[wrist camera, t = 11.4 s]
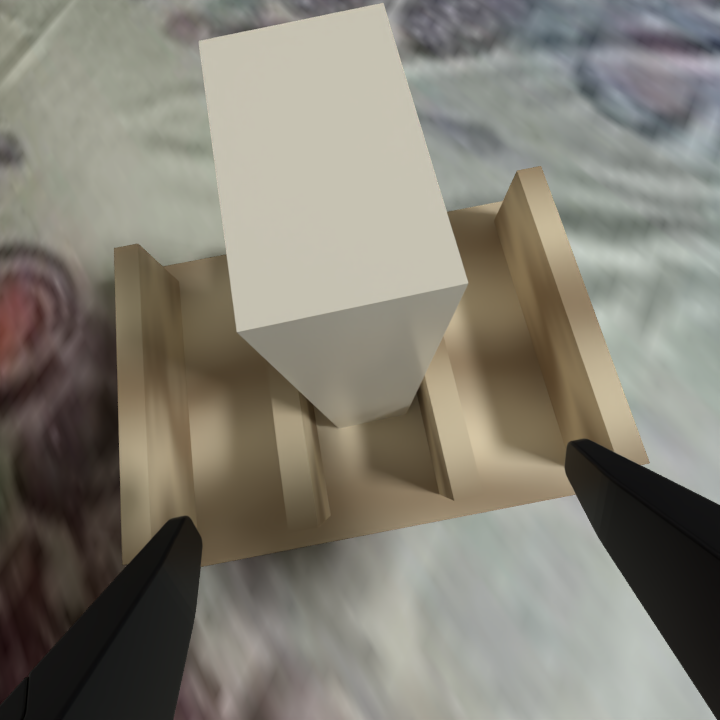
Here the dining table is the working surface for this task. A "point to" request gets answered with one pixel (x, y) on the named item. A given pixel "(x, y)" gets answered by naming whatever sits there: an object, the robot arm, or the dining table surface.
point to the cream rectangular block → (331, 210)
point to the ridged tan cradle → (373, 439)
